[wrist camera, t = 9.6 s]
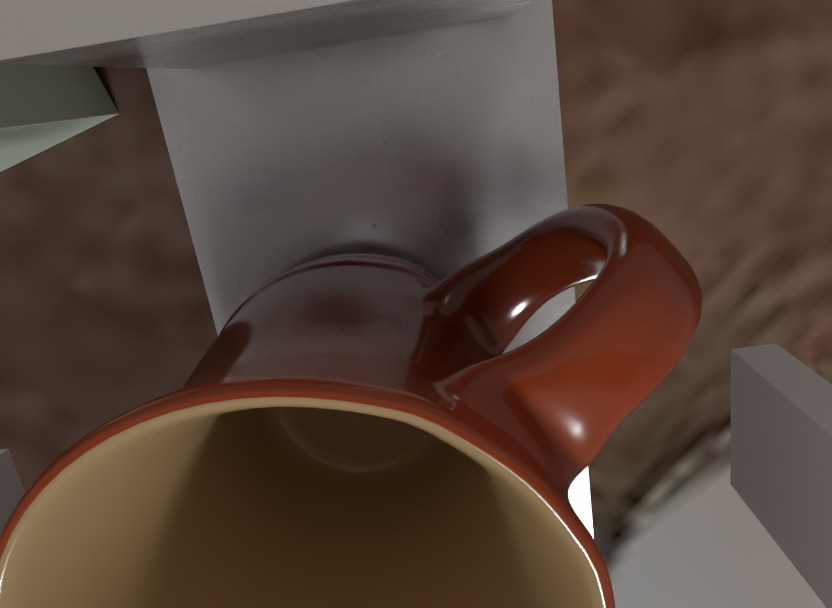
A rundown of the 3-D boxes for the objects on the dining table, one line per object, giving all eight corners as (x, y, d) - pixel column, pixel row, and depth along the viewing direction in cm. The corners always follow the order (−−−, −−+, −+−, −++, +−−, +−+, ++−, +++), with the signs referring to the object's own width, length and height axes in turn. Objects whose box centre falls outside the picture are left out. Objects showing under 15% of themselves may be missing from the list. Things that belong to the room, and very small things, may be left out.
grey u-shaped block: (317, 643, 24) (254, 980, 15) (116, -131, 16) (-267, -391, 7) (591, 612, 24) (695, 943, 15) (523, -206, 16) (660, -590, 7)
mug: (372, 543, 21) (329, 951, 11) (148, 368, 19) (-142, 675, 9) (671, 283, 18) (965, 526, 8) (442, 43, 16) (473, -7, 6)
